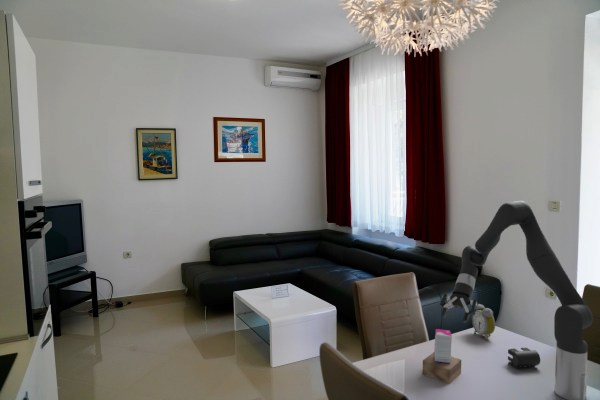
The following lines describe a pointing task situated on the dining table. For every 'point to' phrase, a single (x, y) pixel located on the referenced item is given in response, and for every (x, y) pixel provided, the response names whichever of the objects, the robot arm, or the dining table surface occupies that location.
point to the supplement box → (442, 346)
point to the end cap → (523, 358)
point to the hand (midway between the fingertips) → (453, 319)
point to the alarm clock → (483, 321)
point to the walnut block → (442, 369)
